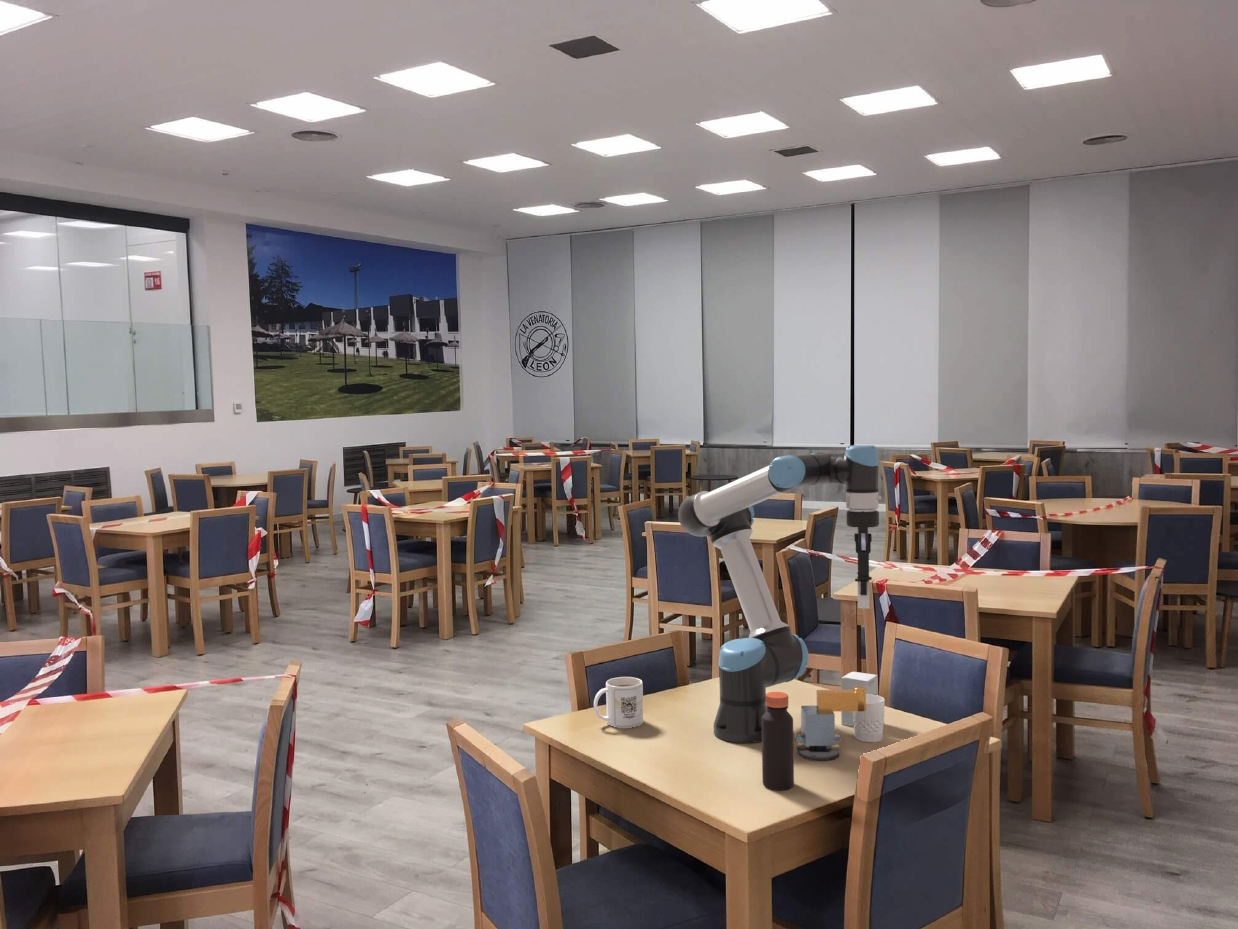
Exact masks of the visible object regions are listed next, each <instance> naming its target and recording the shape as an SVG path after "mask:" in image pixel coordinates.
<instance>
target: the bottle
mask: <svg viewBox="0 0 1238 929" xmlns="http://www.w3.org/2000/svg"><path fill="white" fill-rule="evenodd" d="M766 707H767V711H766V712H765V713H764V714H763V716H762V741H761V764H762V765H761V768H762V769H761V770H762V772H761V774H762V785H763V787H765V788H766V789H770V790H772V791H785V790H786V791H787V790H789V789H791V788H793V787H794V785H795V774H794V773H795V770H794V767H795V766H794V765H795V764H794V762H795V761H794V755H795V754H794V718H793V716H792V714H791V713H789V712H788V708H789V694H787V693H786V692H781V691H771V692H766Z"/></svg>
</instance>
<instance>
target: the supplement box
mask: <svg viewBox="0 0 1238 929" xmlns="http://www.w3.org/2000/svg"><path fill="white" fill-rule="evenodd" d="M840 679H841V681H840V685H841V688H840V690H854V687H857V686H860V687H865V688H866V694H873V695H878V674H873V673H867V672H865V673H864V672H859V671H851V672H848V673H847V674H846V675H843V676H842V677H841V678H840ZM878 696H879V695H878ZM840 716H841V717H840V718H841V722H840V723H841V725H844V726H847V727H854V722H853V711H840Z"/></svg>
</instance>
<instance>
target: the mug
mask: <svg viewBox="0 0 1238 929" xmlns="http://www.w3.org/2000/svg"><path fill="white" fill-rule="evenodd" d="M643 685H644V684H643V680H642V679H640V678H637V677H632V676H619V677H617V676H616V677H614V678H609V679H608V680H607V681H606V682H605V687H604V688H601V689H599V691H598V692H597V693H596V694H595V697H594V699H593V711H594V712H595V714H596V715H597V717H598V718H599V719H601V720H603V721H606V724H607V723H608V724H607V725H608V726H609V725H611V726H614V727H613V728H615V727H618V728H617V729H632V727H634V728H637V727H640V726H641V725H643V724H644V689H643V687H644V686H643ZM603 694H605V701H606V702H605V704H606V705H605V706H606V707H605V709H606V715H602V714H601V713H600V712H599V710H598V703H599V699H600V698H601V696H602V695H603ZM611 726H610V727H611ZM636 726H637V727H636Z"/></svg>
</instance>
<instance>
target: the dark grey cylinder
mask: <svg viewBox="0 0 1238 929" xmlns="http://www.w3.org/2000/svg"><path fill="white" fill-rule="evenodd" d="M840 749H841V748H840V745H839V744H837V743H835V746H806V745H805V743H804V742H797V744H796V754H797V755H798V757H800V758H803V759H804V760H810V761H815V762H816V761H819V762H826V761H827V762H828V761H834V760H835V759H838V758H839V757H840V752H841V750H840Z"/></svg>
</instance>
